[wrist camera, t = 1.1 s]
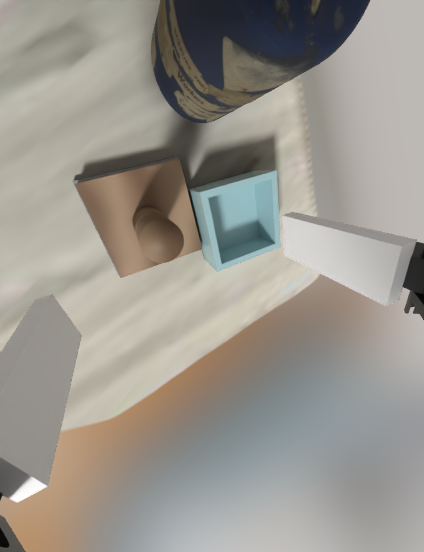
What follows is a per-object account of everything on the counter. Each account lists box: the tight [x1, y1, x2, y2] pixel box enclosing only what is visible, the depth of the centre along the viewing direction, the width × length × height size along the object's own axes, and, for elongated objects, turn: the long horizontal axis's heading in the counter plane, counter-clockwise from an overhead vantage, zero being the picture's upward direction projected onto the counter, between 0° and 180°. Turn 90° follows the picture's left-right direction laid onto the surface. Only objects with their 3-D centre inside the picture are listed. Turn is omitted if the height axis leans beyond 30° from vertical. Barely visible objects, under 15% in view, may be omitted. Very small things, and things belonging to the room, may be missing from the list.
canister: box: [151, 0, 370, 123], centre depth 15 cm, size 10×10×18 cm
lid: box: [75, 159, 202, 278], centre depth 22 cm, size 11×11×10 cm
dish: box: [187, 170, 281, 272], centre depth 29 cm, size 10×10×5 cm
